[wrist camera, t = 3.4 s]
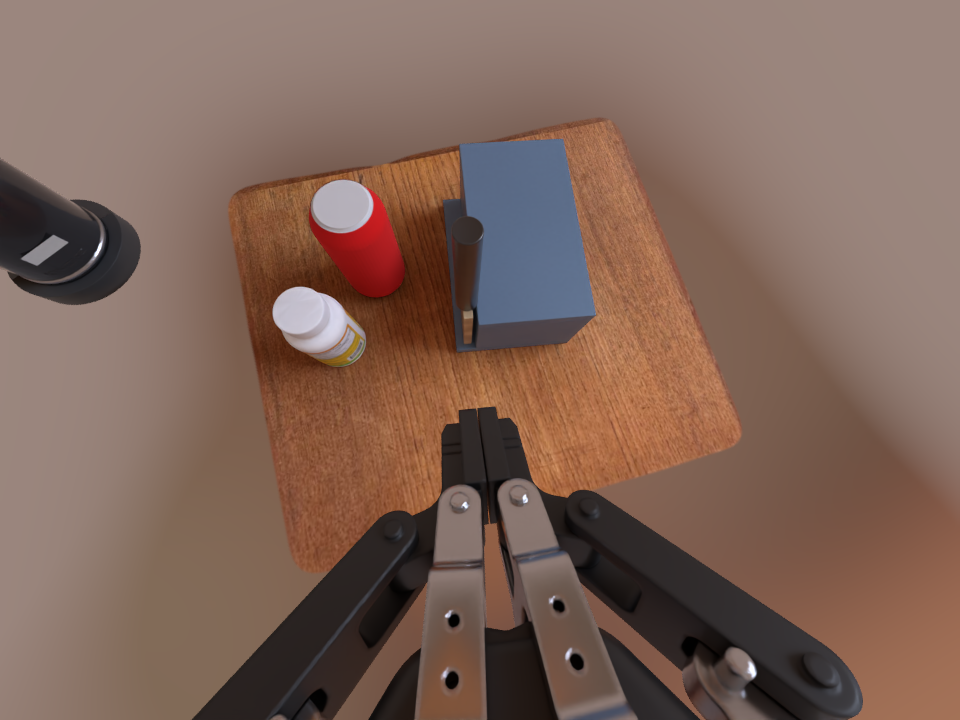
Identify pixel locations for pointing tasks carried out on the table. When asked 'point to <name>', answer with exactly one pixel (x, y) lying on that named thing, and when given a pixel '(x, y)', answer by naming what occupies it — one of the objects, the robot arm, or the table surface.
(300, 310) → the supplement bottle
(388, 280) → the beverage can
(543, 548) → the robot arm
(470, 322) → the brown flat handled piece
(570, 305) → the cabinet
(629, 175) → the table surface
